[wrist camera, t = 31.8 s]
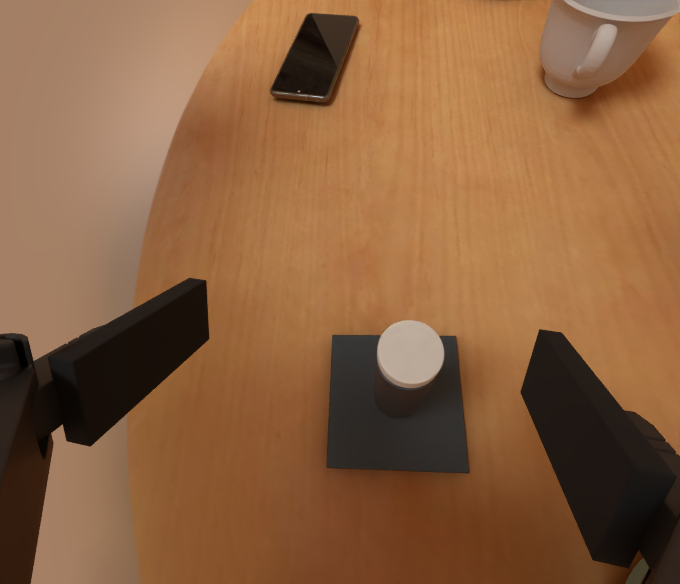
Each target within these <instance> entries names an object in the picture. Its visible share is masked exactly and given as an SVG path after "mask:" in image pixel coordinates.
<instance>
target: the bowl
mask: <svg viewBox="0 0 680 584" xmlns="http://www.w3.org/2000/svg"><path fill="white" fill-rule="evenodd" d="M648 569H649V567H648V565H647V563H646V561H645V560H644V558H643V559H641V560H640V561H639V563H638V564H637V565H636V566H635V567H634V568H633V570H632V572H631V573H630V575H629V576H628V578H627V580H626V583H625V584H640V583H641V581H642V580H643V578H644V576H645V574H646V572H647V571H648Z"/></svg>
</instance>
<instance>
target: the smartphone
mask: <svg viewBox="0 0 680 584" xmlns="http://www.w3.org/2000/svg"><path fill="white" fill-rule="evenodd" d="M358 23H359V19H358V17H356V16H348V15H333V14H318V13H309V14H307V15H306V16H305V18H304V21H303V23H302V25H301V27H300V29H299V31H298V33H297V35H296V37H295V39H294V41H293V43H292V45H291V47H290V49H289V52H288V54H287V56H286V58H285V60H284V62H283V64H282V66H281V68H280V70H279V72H278V74H277V76H276V78H275V80H274V82H273V85H272V87H271V89H270V93H271V95H272V96H273V97H276V98H285V99H294V100H304V101H313V102H327V101H328V100H329V99H330V97H331V94H332V91H333V89H334V86H335V84H336V81H337V78H338V76H339V73H340V70H341V68H342V65H343V63H344V60H345V57H346V55H347V52H348V49H349V47H350V44H351V42H352V39H353V36H354V34H355V31H356V29H357V26H358Z"/></svg>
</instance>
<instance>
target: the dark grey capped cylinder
mask: <svg viewBox="0 0 680 584" xmlns="http://www.w3.org/2000/svg"><path fill="white" fill-rule="evenodd" d="M443 361H444V347H443V343H442V341H441V339H440V337H439V336H438V334H437V333H436V332H435V331H434V330H433V329H432V328H431V327H429V326H428V325H426V324H424V323H422V322H419V321H414V320H404V321H399V322H396V323H394V324H392V325H391V326H389V327H388V328H387V329H386V330H385V331H384V332H383V334H382V335H381V337H380V339H379V342H378V344H377V347H376V351H375V387H374V396H375V402H376V404H377V406H378V408H379V409H380V410H381V411H382V412H383V413H384V414H385V415H387V416H389V417H392V418H403V417H406V416H408V415H410V414H411V413H412V412H413V411H414V410H415V409H416V407H417V406H418V405H419V403H420V402H421V400H422V399H423V397H424V396H425V395H426V393H427V392H428V390H429V389H430V388H431V386H432V385H433V383H434V382H435V380H436V379H437V378H438V376H439V374H440V372H441V369H442V365H443Z"/></svg>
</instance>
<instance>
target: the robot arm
mask: <svg viewBox="0 0 680 584" xmlns="http://www.w3.org/2000/svg"><path fill="white" fill-rule="evenodd" d="M208 340H209V325H208V305H207V285H206V280H200V279H193V278H188V279H186V280H185V281H183V282H181V283H179V284H177V285H176V286H174V287H172V288H170V289H169V290H167V291H165V292H163V293H161V294H160V295H158V296H156V297H154V298H152V299H151V300H149V301H147V302H145V303H143V304H142V305H140V306H138V307H136V308H134V309H133V310H131V311H129V312H127V313H125V314H124V315H122V316H120V317H118V318H117V319H115V320H113V321H111V322H109V323H108V324H106V325H103V326H100V327H97V328H94V329H92V330H90V331H88V332H86V333H84V334H82V335H81V336H79V338H76V339H73V340H72V341H70V342H68V344H64V345H62V346H61V347H59V348H57V349H55V350H53V351H51V352H50V353H48V354H46V355H44V356H42V357H41V358H39V359H37V360H35V361H33V357H32V353H31V349H30V345H29V341H28V337H27V336H25V335H23V334H15V333H9V334H0V584H31V578H32V572H33V566H34V559H35V554H36V547H37V541H38V535H39V529H40V522H41V517H42V511H43V505H44V498H45V492H46V486H47V480H48V474H49V468H50V462H51V456H52V450H53V440H52V435H51V433H52V432H53V431H54V430H56V429H57V428H58V427H60V426H61V425H62V424H63V427H64V431H65V436H66V440H67V441H68V442H72V443H77V444H81V445H86V446H92V445H93V444H94V443H95V442H96V441H97V440H98V439H99V438H100V437H102V436H103V435H104V434H105V433H106V432H107V431H108V430H109V429H110V428H112V427H113V426H114V425H115V424H116V423H117V422H118V421H119V420H120V419H121V418H123V417H124V416H125V415H126V414H127V413H128V412H129V411H130V410H131V409H133V408H134V407H135V406H136V405H137V404H138V403H139V402H140V401H141V400H142V399H144V398H145V397H146V396H147V395H148V394H149V393H150V392H151V391H152V390H153V389H155V388H156V387H157V386H158V385H159V384H160V383H161V382H162V381H163V380H165V379H166V378H167V377H168V376H169V375H170V374H171V373H172V372H173V371H174V370H176V369H177V368H178V367H179V366H180V365H181V364H182V363H183V362H184V361H186V360H187V359H188V358H189V357H190V356H191V355H192V354H193V353H194V352H195V351H197V350H198V349H199V348H200V347H201V346H202V345H203V344H204V343H205V342H206V341H208ZM521 395H522V397H523V399H524V402H525V404H526V406H527V409H528V411H529V413H530V416H531V418H532V420H533V422H534V425H535V427H536V429H537V432H538V434H539V436H540V439H541V441H542V443H543V446H544V448H545V450H546V453H547V455H548V457H549V460H550V462H551V464H552V467H553V469H554V471H555V474H556V476H557V478H558V481H559V483H560V485H561V488H562V490H563V492H564V495H565V497H566V499H567V502H568V504H569V506H570V509H571V511H572V513H573V516H574V518H575V520H576V522H577V525H578V527H579V529H580V532H581V534H582V536H583V539H584V541H585V543H586V546H587V548H588V550H589V553H590V555H591V557H592V560H594V561H599V562H603V563H608V564H612V565H616V566H621V567H625V568H629V567H630V565H631V563H632V561H633V560H634V558H635V556H636V554H637V552H638V550H639V551H640V552H641V554H642V556H643V558H644V560H645V561H646V563H647V565H648V567H649V569H648V571H647V572H646V574H645V576H644V578H643V580H642V581H641V583H640V584H680V456H679V455H677V454H676V451H675V450H674V449H673V448H672V447H671V446H670V444H669V443H667V442H665V439H664V437H663V436H662V435H661V434H660V433H659V432H658V430H657V429H656V428H655V427H654V426H653V425H652V424H650V423H649V422H648V421H646V420H645V419H644V418H642V417H641V416H640V415H638V414H637V413H635V412H631V411H625V410H623V409H622V407H621V406H620V405H619V404H618V402H617V401H616V400H615V399H614V397H613V396H612V395H611V394H610V392H609V391H608V390H607V389H606V387H605V386H604V385H603V384H602V382H601V381H600V380H599V379H598V377H597V376H596V375H595V374H594V372H593V371H592V370H591V369H590V367H589V366H588V365H587V364H586V362H585V361H584V360H583V359H582V357H581V356H580V355H579V354H578V352H577V351H576V350H575V349H574V347H573V346H572V345H571V344H570V342H569V341H568V340H567V339H566V337H565V336H564V335H563V334H562V333H561V332H554V331H548V330H541V329H539V332H538V336H537V339H536V342H535V346H534V349H533V352H532V356H531V359H530V362H529V366H528V369H527V372H526V376H525V379H524V382H523V386H522V389H521Z"/></svg>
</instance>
